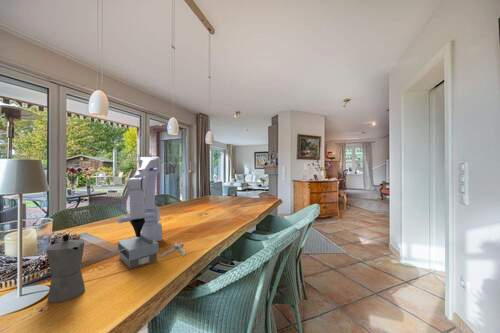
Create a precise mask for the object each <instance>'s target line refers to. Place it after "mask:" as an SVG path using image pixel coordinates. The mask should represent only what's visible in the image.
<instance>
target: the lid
mask: <svg viewBox="0 0 500 333" xmlns="http://www.w3.org/2000/svg"><path fill="white" fill-rule="evenodd" d="M159 245H160V244H159V241H157V242H156V241H154V240H153V239H151V238H149V237H147V236H146V235H144V234H142V232H141V233H140V237H136V236H133V237H129V238H124V239H121V240H117V251H122V250H127V251H128V252H129V261H131V260H134V259H138V258H141V257H145V256H148V255H152V254H155V253H157V254H158V253H159V251H160V247H159Z"/></svg>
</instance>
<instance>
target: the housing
mask: <svg viewBox="0 0 500 333" xmlns="http://www.w3.org/2000/svg"><path fill="white" fill-rule="evenodd" d="M118 251H119V252H118V254H119V260H121V262H123V263H124V264H125V265H126V267H128V269H129V270H131V269H134V268H137V267H140V266H141V267H142V266H144V265H147V264H150V262H151V263H153V262H156V261H158V253H155V254H152V255H148V256H145V257H141V258H138V259H134V260H131V261H129V252H128V251H127V250H126V249H122V250H118Z"/></svg>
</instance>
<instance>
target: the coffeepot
mask: <svg viewBox="0 0 500 333" xmlns="http://www.w3.org/2000/svg"><path fill="white" fill-rule="evenodd" d="M69 238H70V234H63V235H62V239H63V240H62V239H56V238H55V239H53V240H52V241H51V243H50V244H49V245H48V246H46V251H45V252H46V255H47V260H48V264H49V268H50V272H51V278H50V279H51V280H50V285H49V290H48V296H47V302H49V303H52V304H57V303H63V302H68V301H70V300H72V299H75V298H77V297H78V296H80V295H81V294H83V293H85V291H86V288H85V286H86V285H85V281H84V278H83V274H82V273H83V272H82V269H81V265H82V261H83V255H84V248H85V240H84V239H69Z"/></svg>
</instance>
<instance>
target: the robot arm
mask: <svg viewBox="0 0 500 333" xmlns="http://www.w3.org/2000/svg"><path fill="white" fill-rule="evenodd" d="M138 165H139V168H138V169H136V170H135V172H134V174H133V176H132V177H130V178H129V179H127V182H126V189H127V194H128V196H129V215H126V216H122V217H118V218H117V223H119V224H122V223H128V222H129V223H130V224H131V226H132V228H133V230H134V234H135V237H140V233H142V234H144V235H146V236H147V237H149V238H151V239H153V240H154V241H156V242H161V241H163V239H164V238H163V226H162V223H161V222H160V220H161V213H160V212H161V210H160V209H161V208H159V206H158V205H156V204H155V200H156V198H155V197H156V185H157V183H156V182H157V176H158V175H159V174H160V173H161V168H162V161H161V157H159V156H140V157H139V160H138Z"/></svg>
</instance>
